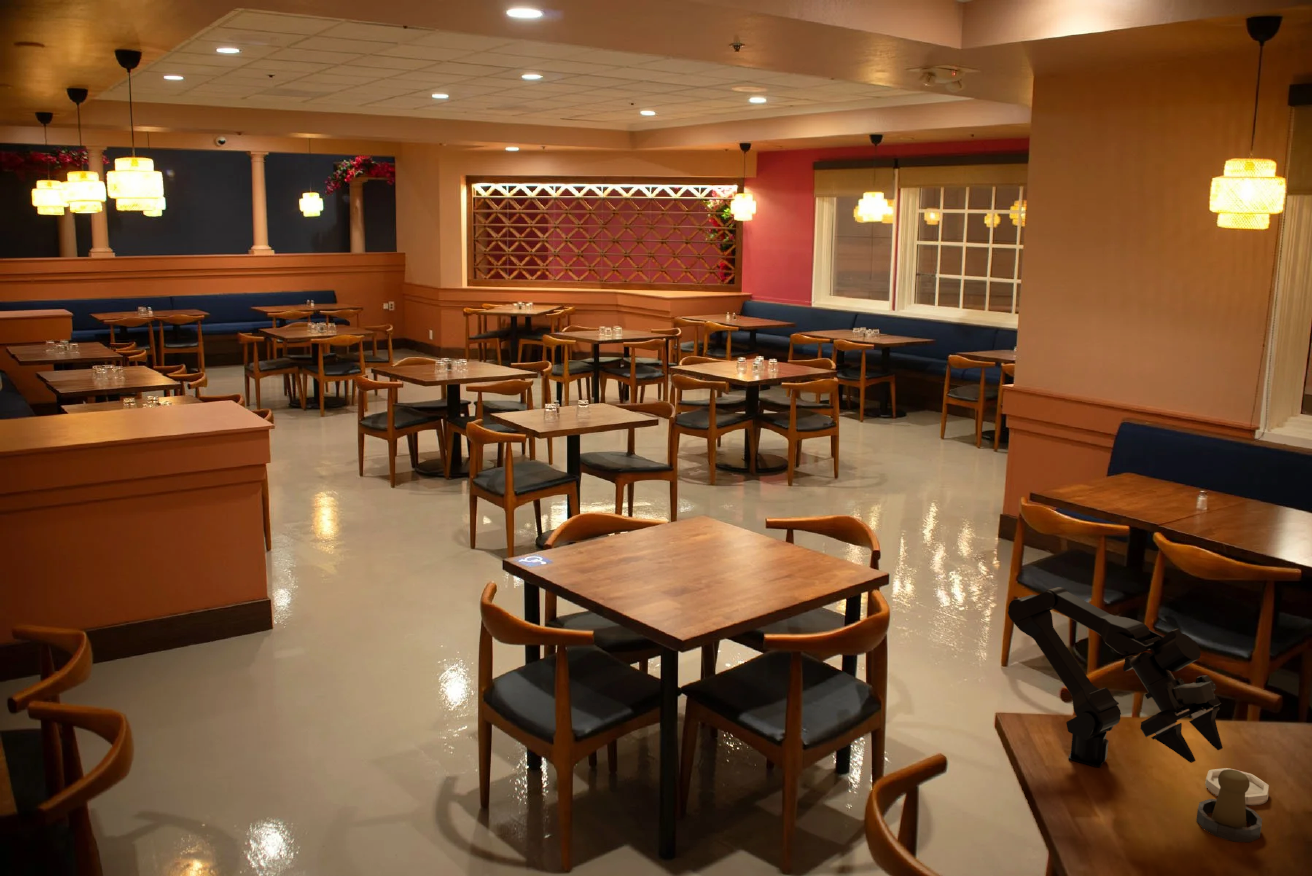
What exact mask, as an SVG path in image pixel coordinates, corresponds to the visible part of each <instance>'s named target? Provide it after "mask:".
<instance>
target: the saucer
mask: <svg viewBox="0 0 1312 876" xmlns="http://www.w3.org/2000/svg"><path fill="white" fill-rule="evenodd" d="M1227 769H1232V770H1235V769H1233V768H1230V767H1228V768H1227V767H1225V768H1224V767H1223V768H1216V769H1215V768H1214V769H1209V770H1208V771H1207V775H1206V777H1205V787H1206V789H1207V788H1208V789H1207V790H1208V791H1209V792H1210V793H1211V792H1212V793H1211V794H1213V795H1214V794H1215V795H1214V796H1215V797H1217V796H1218V794H1219V790H1220V785H1219V782H1218V776H1219V774H1220V773H1221V772H1222V771H1223V770H1227ZM1236 770H1237V771H1239V772H1242V773H1243V774H1245V775H1246V776H1247V777H1248V779H1249V783H1250V785H1249V788H1248V791H1247V792H1246V793H1245V805H1246V806H1260V805H1263V804H1265V803H1267V802H1268V800H1269V789H1270V788H1269V787H1270V785H1269V784H1268V783H1266V782H1265V781H1263V780H1262V779H1260V778H1259V777H1257V776H1256V775H1254V774H1252V773H1250V772H1246V771H1241V770H1238V769H1236Z"/></svg>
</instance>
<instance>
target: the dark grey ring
mask: <svg viewBox="0 0 1312 876" xmlns="http://www.w3.org/2000/svg"><path fill="white" fill-rule="evenodd" d="M1216 801H1217V798H1208V799H1205V800H1203V801H1200V802H1199V803H1198V806H1197V813H1196V820H1197V821H1196V820H1195V821H1196V822H1197V824H1198V823H1199V824H1200V825H1201V826H1202V827H1201V826H1200V825H1199V824H1198V825H1199V826H1200V827H1201V829H1202V828H1203V829H1202V830H1204V829H1205V830H1206V831H1205V830H1204V831H1205V832H1207V831H1208V833H1209V832H1210V833H1209V834H1210V835H1212V836H1215V837H1216V838H1220V839H1222V840H1227V841H1230V842H1235V843H1236V842H1237V843H1251V842H1254V841H1256V840H1260V839H1261V831H1262V825H1263V824H1262V823H1263V818H1262V817H1261V816H1260V815H1259V814H1258V812H1256V811H1255V809H1252V808H1250V807H1248V806H1246V823H1247V824H1249V825H1250V826H1248V827H1247V826H1246V827H1232V826H1229V825H1225V824H1222V823H1219V822H1217V821H1215V820H1213V819H1212V817H1210V816H1208V815H1209V814H1213V811H1214V808H1215V804H1216ZM1208 813H1209V814H1208Z"/></svg>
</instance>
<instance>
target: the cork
mask: <svg viewBox="0 0 1312 876" xmlns="http://www.w3.org/2000/svg"><path fill="white" fill-rule="evenodd" d="M1232 769H1233V768H1230V769H1227V770H1223V771H1222V772H1221V773H1220V774H1219V776H1218V782H1219V785H1220V790H1219V794H1218V797H1217V796H1216V797H1217V798H1216V799H1217V801H1216V804H1215V808H1214V811H1213V813H1211V814H1212V815H1211V818H1212V819H1213V820H1215V821H1217V822H1219V823H1222V824H1225V825H1229V826H1232V827H1246V828H1247V822H1246V807H1247V805H1245V793H1246V792H1247V791H1248V788H1249V785H1250V783H1249V779H1248V777H1247V776H1246V775H1245V774H1243V773H1242V772H1243V771H1242V772H1239V771H1240V770H1238V769H1234V770H1232ZM1237 770H1238V771H1237Z"/></svg>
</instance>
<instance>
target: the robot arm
mask: <svg viewBox="0 0 1312 876" xmlns="http://www.w3.org/2000/svg"><path fill="white" fill-rule="evenodd" d="M1007 608H1008V609H1007V614H1008V617H1009V619H1010V620H1011V621H1012V623H1013V624H1014V625H1015V626H1016V628H1017V629H1018V630H1019V631H1021V632H1022V633H1024V634H1025V635H1027V636H1029V637H1030V638H1032V639H1033V640H1034V642H1035V643H1036V644H1037V646H1038V648H1039V649H1040V651H1041V652H1042V654H1043V655H1044V656H1045V658H1046V659H1047V661H1048V662H1049V664H1050V665H1051V667H1052V668H1053V670H1054V671H1055V673H1056V674H1057V676H1058V678H1059V680H1061V682H1062V683H1063V685H1064V686H1065V688H1066V690H1067V691H1068V692H1069V694H1070V696H1071V699H1072V706H1073V707H1072V708H1073V712H1074V713H1075V717H1072V718H1071V719H1069V720H1068V721H1066V722H1065V723H1066V724H1065V725H1066V728H1067V731H1068V733H1070V734H1072V736H1071V746H1070V747H1071V749H1070V752H1069V753H1070V754H1069V755H1068V760H1070V761H1074V762H1077V763H1080V764H1085V765H1088V766H1092V767H1095V768H1101V767H1102V765H1103V763H1105V762H1106V760H1107V758H1108V752H1109V751H1108V750H1109V741H1110V740H1109V739H1107V734H1108V733H1107V732H1111V731H1113V728H1114V727H1115V726H1117V725H1118V724H1119V723H1120V720H1121V715H1122V713H1121V709H1120V707H1119V706H1118V705H1119V704H1120V703H1119V702H1118V701H1117V700H1116V699H1115V698H1114V696H1113V694H1112V693H1111V691H1110V689H1109V688H1107V687H1103V688H1099V687H1097V686H1096V685H1094V684H1093V683H1092V682H1091V680H1090V679H1089V677H1088V676H1087V674H1086V673H1085V672H1084V670H1083V668H1082V667H1081V666H1080V664H1079V663H1078V661H1077V660H1076V659H1075V657H1074V656H1073V654H1072V653H1071V651H1070V649H1069V648H1068V647H1067V645H1066V644H1065V642H1064V640H1063V639H1062V638H1061V636H1060V635H1059V633H1058V632H1057V631H1056V630H1055V627H1054V621H1053V620H1054V619H1053V614H1052V611H1051V610H1053V611H1054V610H1055V611H1056V612H1058V613H1059V614H1062V615H1064V616H1066V617H1067V618H1069V619H1071V620H1073V621H1074V622H1077V623H1078V624H1080V625H1081V626H1084V627H1086V628H1088V629H1089V630H1091V631H1093V632H1095V633H1096V634H1098V635H1099V636H1100V637H1101V638H1102V640H1103V643H1105V644H1106V645H1107V646H1109V647H1110V648H1111V649H1113V651H1115V652H1116V653H1118V654H1119V655H1123V656H1125V658H1124V664H1123V666H1122V671H1123V672H1127V671H1130V670H1133V671H1134V672H1135V674H1136V675H1137V677H1138V678H1139V680H1140V682H1141V684H1143V686H1144V688H1145V689H1146V691H1147V692H1146V693H1145V694H1144V696H1145V698H1146V699H1147V700H1149V699H1152V700H1153V701H1154V703H1155V705H1156V706H1157V708H1158V710H1159V712H1157V713H1156V714H1154V715H1152V716H1150V717H1148V718H1146V719H1145V720H1143V721H1140V727H1139V729H1140V730H1141V732H1142V733H1143V735H1144V737H1145V738H1147V737H1150V736H1151V739H1152V740H1156V741H1158V742H1159V743H1160V744H1162V745H1164V746H1165V747H1167V748H1169V749H1170V750H1172V751H1173V752H1175V753H1176V754H1178V756H1180V757H1181V758H1183V759H1184V760H1186V761H1187V762H1189V764H1191V763H1195V762H1196V758H1195V756H1194V753H1193V751H1192V749H1191V747H1190V746H1189V745H1188V743H1187V741H1186V739H1185V737H1184V735H1183V733H1182V725H1183V724H1182V722H1180V723H1177V722H1178V721H1179V720H1181V719H1184V718H1186V717H1188V718H1189V719H1191V720H1189V723H1190V724H1191V725H1192V726H1193V727H1194V728H1195V729H1196V731H1197V732H1199V734H1200V735H1201V736H1202V737H1203V738H1204V739H1205V740H1206V741H1207V742H1208V743H1209V744H1211V746H1212V747H1213V748H1215V749H1216V750H1217V751H1220V750H1223V744H1222V740H1221V736H1220V734H1219V730H1218V727H1217V720H1216V718H1217V717H1216V716H1217V713H1218V711H1219V710H1220V707H1219V705H1221V704H1222V702H1221V701H1220V699H1219V697H1218V696H1217V695H1216V694H1215V693H1214V692H1215V691H1216V690H1217V685H1216V684H1215V683H1214V681H1213V680H1212V679H1211V677H1210V676H1209V675H1199V676H1197V677H1196V678H1195V682H1192V683H1185V681H1184V679H1183V678H1181V677H1177V678H1175V677H1174V675H1173V673H1177V672H1178V671H1180V670H1182V669H1183V668H1185V667H1187V666H1189V665H1190V664H1192V663H1194V662H1196V661H1199V659H1200V658H1201V654H1202V653H1201V652H1202V651H1201V649H1200V646H1199V645H1198V643H1197V642H1196V641H1195V640H1194V639H1192V637H1190V636H1189V635H1188V634H1185V633H1182V631H1181V630H1180V628H1175V629H1172V630H1170V631H1169V632H1167V633H1166V634H1165V635H1164V636H1163V635H1162V634H1159V633H1157V632H1155V631H1153V630H1151V629H1150V628H1149V626H1147V625H1146V624H1145V623H1144V622H1142V621H1138V620H1136V619H1133V618H1129V617H1125V616H1117V615H1114V614H1110V613H1109V612H1107V611H1105V610H1103V609H1101V608H1100V607H1097V606H1095V605H1094V604H1092V603H1090V602H1088V601H1087V600H1084V599H1082V598H1080V597H1079V596H1076V595H1075V594H1073V593H1071V592H1068V590H1067V589H1066V588H1064V587H1060V586H1059V587H1053V588H1050V589H1047V590H1045V591H1044V592H1041V593H1039V594H1030V595H1026V596H1022V597H1019V598H1015V599H1013V600H1011V601H1010V603H1009V604H1008V607H1007ZM1148 651H1151V652H1148ZM1133 653H1135V654H1137V655H1135V656H1133V655H1130V654H1133ZM1127 655H1129V656H1127ZM1215 707H1216V708H1215ZM1176 723H1177V724H1176ZM1152 735H1153V736H1152Z"/></svg>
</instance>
